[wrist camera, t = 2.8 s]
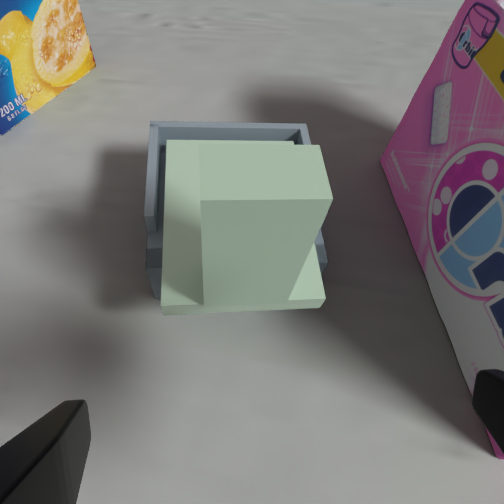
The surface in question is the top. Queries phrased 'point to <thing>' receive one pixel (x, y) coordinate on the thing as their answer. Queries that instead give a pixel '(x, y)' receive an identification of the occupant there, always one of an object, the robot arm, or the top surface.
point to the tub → (201, 131)
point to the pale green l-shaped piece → (242, 226)
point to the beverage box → (39, 55)
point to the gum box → (459, 184)
